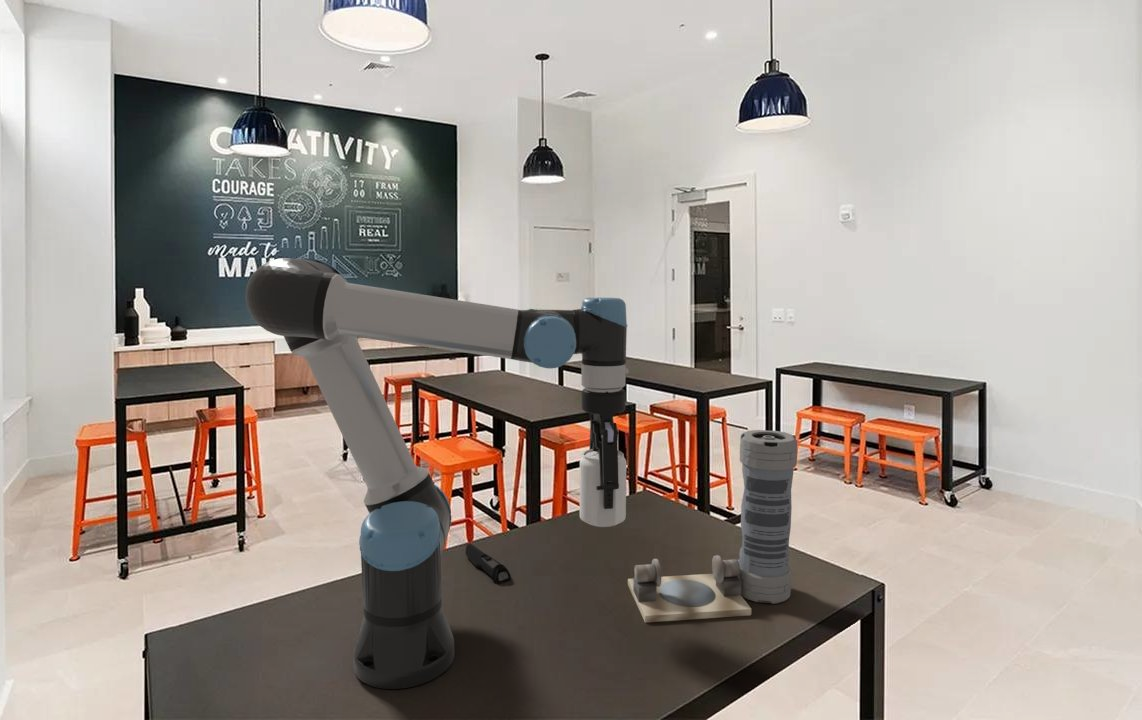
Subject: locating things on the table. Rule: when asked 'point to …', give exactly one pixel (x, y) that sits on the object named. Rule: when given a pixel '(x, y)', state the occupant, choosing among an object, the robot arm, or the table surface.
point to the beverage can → (591, 494)
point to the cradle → (689, 593)
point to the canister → (766, 514)
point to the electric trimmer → (488, 564)
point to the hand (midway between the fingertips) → (602, 515)
